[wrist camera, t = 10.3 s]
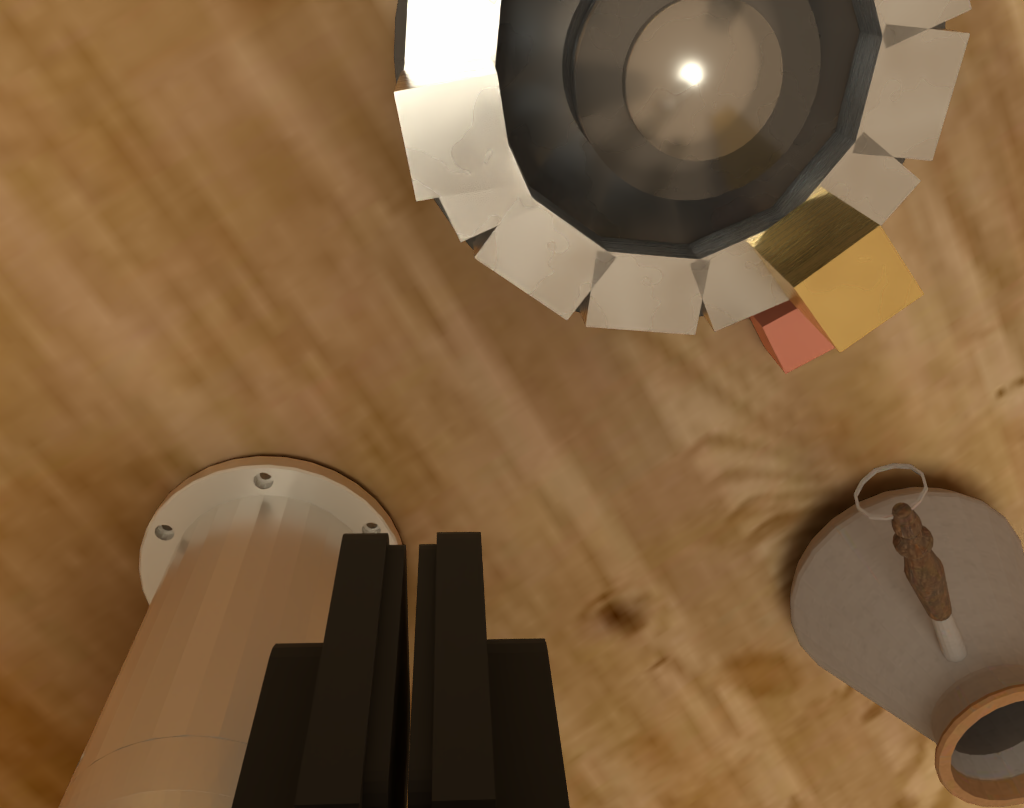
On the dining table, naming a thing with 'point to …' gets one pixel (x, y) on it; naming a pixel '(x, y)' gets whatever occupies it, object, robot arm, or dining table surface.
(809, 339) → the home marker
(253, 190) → the dining table surface
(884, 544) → the coffee pot
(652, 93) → the grey round platform
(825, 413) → the dining table surface
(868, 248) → the crenellated round base
